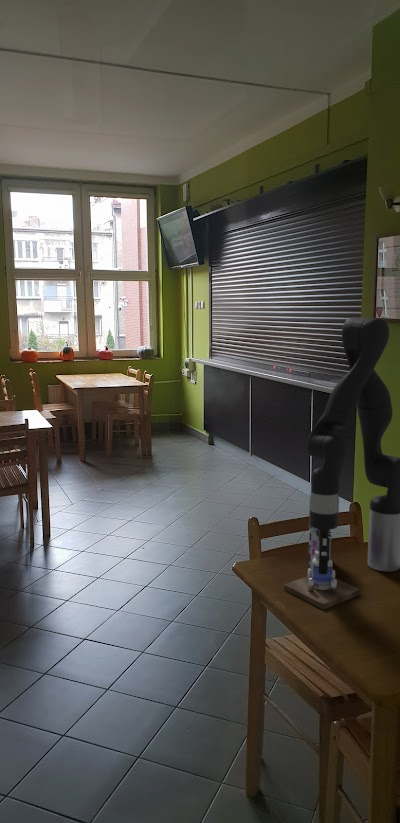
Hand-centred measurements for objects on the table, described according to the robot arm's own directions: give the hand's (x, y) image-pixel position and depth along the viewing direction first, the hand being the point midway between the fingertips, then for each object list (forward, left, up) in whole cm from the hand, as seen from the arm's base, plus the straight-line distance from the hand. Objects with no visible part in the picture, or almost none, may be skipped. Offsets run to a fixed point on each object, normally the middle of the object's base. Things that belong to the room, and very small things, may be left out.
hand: (322, 567), depth 159 cm
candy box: (-12, -12, -7) cm, 19 cm away
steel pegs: (0, 0, -6) cm, 6 cm away
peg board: (0, 0, -7) cm, 7 cm away
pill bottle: (0, 0, -6) cm, 6 cm away
